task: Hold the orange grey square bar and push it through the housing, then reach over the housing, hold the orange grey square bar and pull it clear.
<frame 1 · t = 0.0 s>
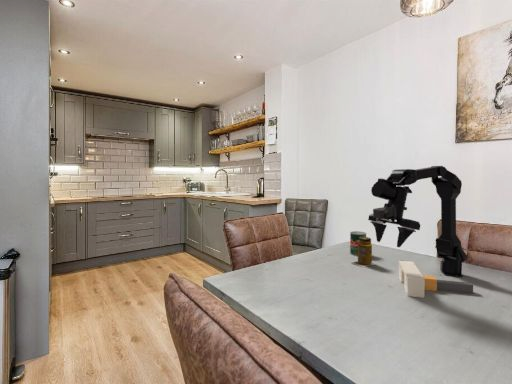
hand: (387, 244, 106), 15 cm above the table, tool pointing down, fingers open, 9 cm apart
housing: (410, 286, 106), on the table
canned tomato: (358, 254, 152), on the table
condiment: (363, 264, 134), on the table
orange grey square bar: (428, 288, 104), on the table
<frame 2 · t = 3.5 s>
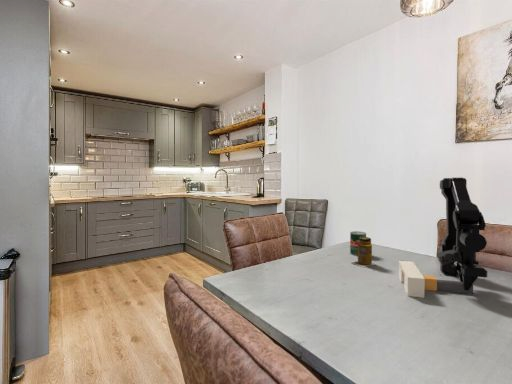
hand: (464, 288, 101), 1 cm above the table, tool pointing down, fingers closed on orange grey square bar, 2 cm apart
orange grey square bar: (428, 288, 105), on the table, touching gripper
everything else where it was.
when the fingers open (1 cm above the table, at t = 6.7 s): orange grey square bar stays where it is, on the table.
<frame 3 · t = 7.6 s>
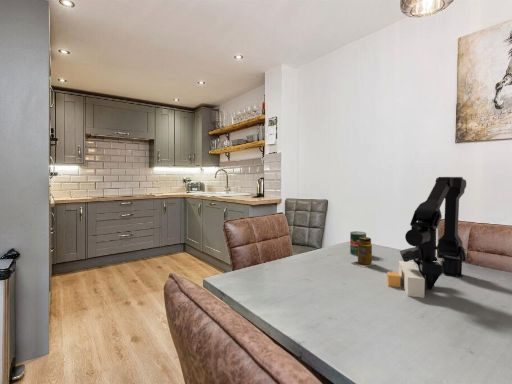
hand: (425, 284, 105), 1 cm above the table, tool pointing down, fingers open, 9 cm apart
orange grey square bar: (393, 284, 108), on the table
everything else where it was.
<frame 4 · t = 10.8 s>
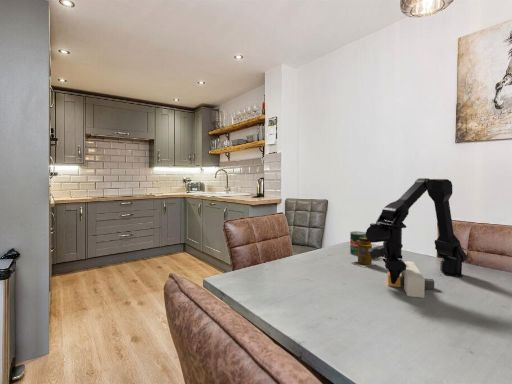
hand: (392, 281, 108), 1 cm above the table, tool pointing down, fingers closed on orange grey square bar, 4 cm apart
orange grey square bar: (393, 284, 108), on the table, touching gripper
everything else where it was.
when the fingers open (1 cm above the table, at t = 12.6 s): orange grey square bar stays where it is, on the table.
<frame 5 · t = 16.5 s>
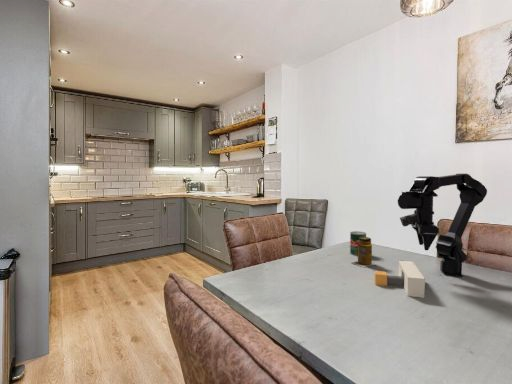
hand: (423, 247, 115), 12 cm above the table, tool pointing down, fingers open, 9 cm apart
orange grey square bar: (380, 283, 110), on the table
everything else where it was.
at the end: orange grey square bar 0.9 cm from the target spot, on the table; the gripper is holding nothing; orange grey square bar tilted 0° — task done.
